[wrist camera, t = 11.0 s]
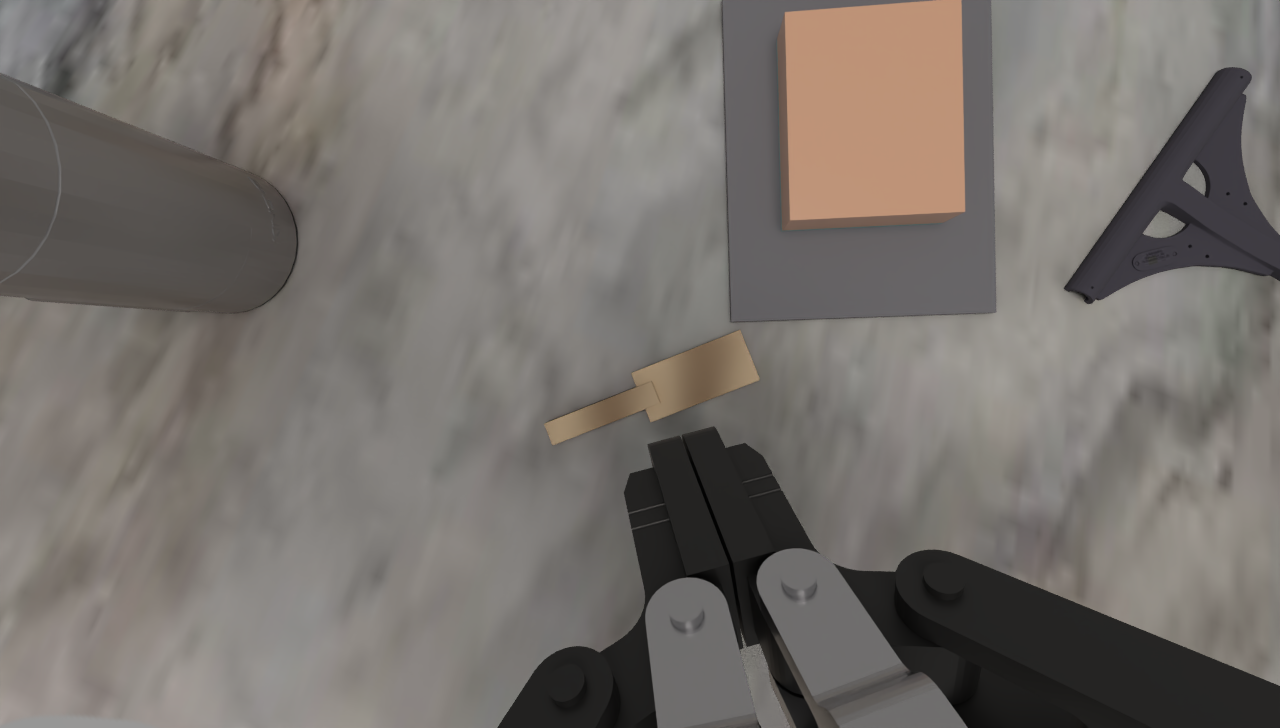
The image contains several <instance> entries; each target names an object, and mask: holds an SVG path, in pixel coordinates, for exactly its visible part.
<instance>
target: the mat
mask: <svg viewBox="0 0 1280 728" xmlns="http://www.w3.org/2000/svg"><path fill="white" fill-rule="evenodd" d="M920 1H933V0H722V27H723V63H724V99H725V135H726V171H727V207H728V243H729V279H730V315H731V322H748V321H776V320H805V319H833V318H862V317H890V316H919V315H947V314H976V313H995V312H996V266H995V206H994V146H993V86H992V26H991V0H961V3H962V58H963V114H964V170H965V212H964V213H962V214H960V215H958V216H956V217H954V218H952V219H950V220H948V221H946V222H944V223H942V224H928V225H907V226H886V227H865V228H844V229H823V230H802V231H781V203H780V164H779V125H778V86H777V47H776V41H777V38H778V34H779V31H780V27H781V24H782V20H783V17H784V13H785V12H792V11H805V10H818V9H830V8H843V7H856V6H869V5H882V4H895V3H907V2H920Z"/></svg>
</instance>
